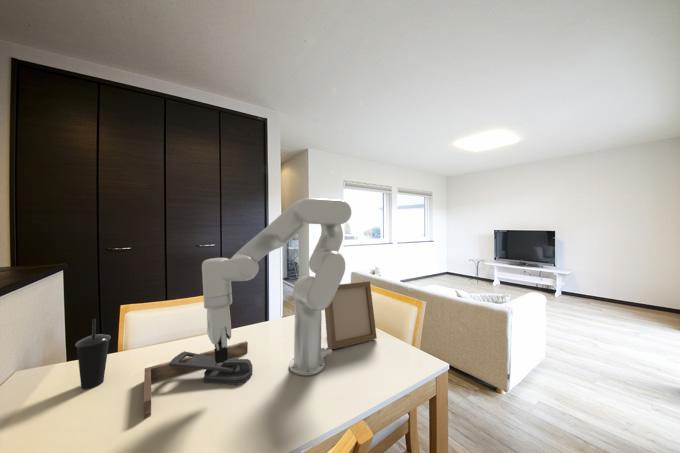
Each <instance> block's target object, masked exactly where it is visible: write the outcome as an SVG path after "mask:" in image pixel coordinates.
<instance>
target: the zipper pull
mask: <svg viewBox="0 0 680 453" xmlns="http://www.w3.org/2000/svg"><path fill="white" fill-rule="evenodd" d="M185 357H192V358H191V359H190V360H189V361H188V362H187V363H178V362H180V361H181V360H182V359H183V358H185ZM169 362H170V363H169V366H171V367H182V368H194V369H195V370H196V369H197V370H204V375H203V376H204V378H203V379H204V380H203V382H204V384H210V385H211V384H213V385H214V384H215V385H226V386H227V385H228V386H238V385H241V384H242V385H243V384H245V383H247V382H248V381H249V380H250V379H251V377H252V375H253V364H252V361H251V360H250V359H248V358H228V360H226V361H224V362H221V363H218V364H217V363H216V362H215V357H211V356H206V355H201V354H200V353H194V352H189V351H186V350H185V351H182V352H180V353H179V354H177V355H175V357H173V358H172V359H171V360H170V361H169ZM194 369H193V370H194Z"/></svg>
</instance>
